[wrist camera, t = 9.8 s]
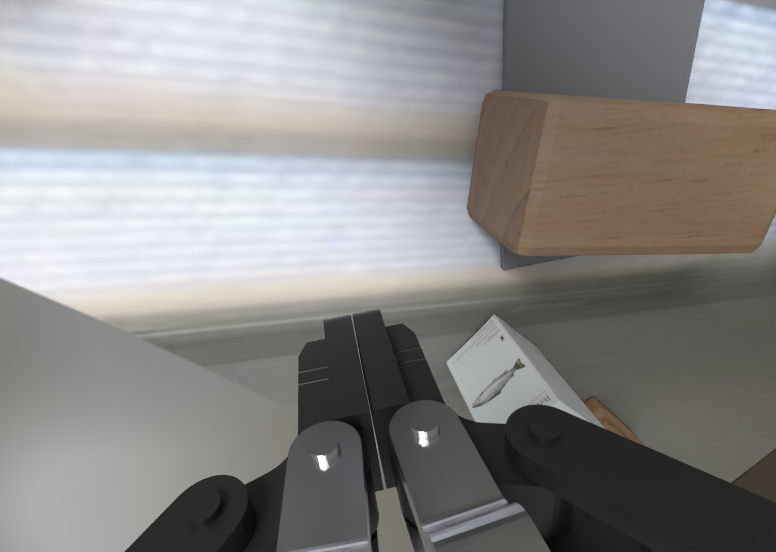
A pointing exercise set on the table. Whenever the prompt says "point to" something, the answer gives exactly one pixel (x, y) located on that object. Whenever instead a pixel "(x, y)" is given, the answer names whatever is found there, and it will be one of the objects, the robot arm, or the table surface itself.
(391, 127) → the table surface
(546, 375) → the supplement box
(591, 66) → the mat
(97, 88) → the table surface
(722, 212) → the block
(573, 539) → the robot arm
